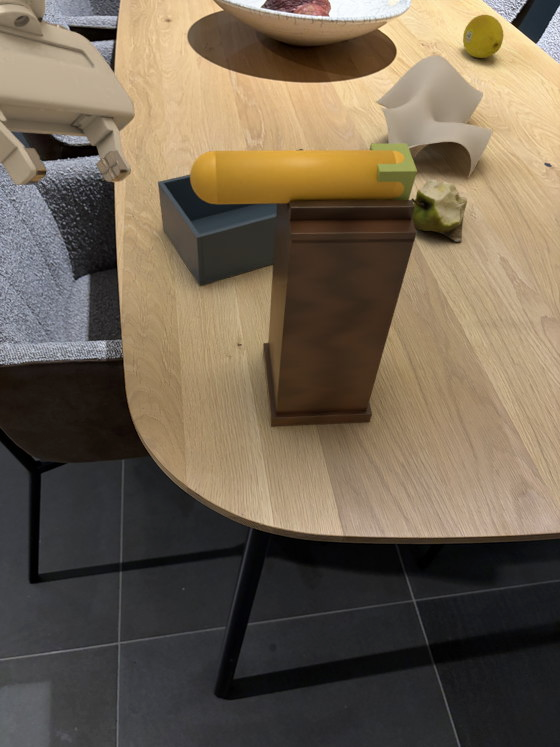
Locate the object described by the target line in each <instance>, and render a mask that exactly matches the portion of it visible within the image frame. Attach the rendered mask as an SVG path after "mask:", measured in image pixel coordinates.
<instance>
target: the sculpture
mask: <svg viewBox="0 0 560 747" xmlns="http://www.w3.org/2000/svg"><path fill="white" fill-rule="evenodd" d="M483 97H484V92H482V91H480V90H479V89H477V88H475V87H474V86H473V85H472V84H471V83H469V82H468V81H467V80H466V79H465V78H464V77H463V76H462V74H460V73H459V71H458V70H457V69H456V68H455V67H454V66H453V65H452V64H451V63H450V62H449V61H448V60H447V58H446V57H444V56H441V55H438V54H437V55H436V54H435V55H429V56H426V57H424V58H422V59H420V60H419V61H417V62H416V63H415V64H413V65H412V66H411V67H410V68H409V69H408V70H407V71H406V72H405V73H404V74H403V75H402V76H401V77H400V78H399V79H398V80H397V81H396V82H395V83H394V85H393V86H391V87H390V89H389V90H388V91H387V92H386V93H385V94H384V95H383V96H381V97H380V98H379V99H378V100H376V101H375V103H377V104H379V105H382V106H383V107H380V109H381V111H382V113H383V116H384V119H385V123H386V128H387V138H388V141H387V144H395V143H407V145H408V148H409V150H410V153H411V156H412V158H413V160H414V158H415V157H416V156H417V155H418V154H419V153H420V152H421V151H422V150H423V149H424V148H425V147H427V146H428V145H431V144H437V143H438V144H439V143H449V142H450V143H457V144H460V145H461V146H463V147H464V148H465V149H466V150H467V152H468V154H469V157H470V171H469V174H468V176H467V179H469V178H470V177H471V175H472V173H473V172H474V170H475V168H476V166H477V165H478V162H479V161H480V159H481V157H482V156H483V153H484V152H485V150H486V148H487V146H488V144H489V143H490V141H491V138H492V135H493V129H491V128H486V127H482V126H479V125H475V124H470V123H468V122H469V120H470V119H471V117H472V116H473V114H474V113H475V111H476V110H477V108H478V107H479V105H480V104H481V101H482V99H483ZM384 107H385V108H384Z"/></svg>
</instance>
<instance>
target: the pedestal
mask: <svg viewBox="0 0 560 747" xmlns="http://www.w3.org/2000/svg"><path fill="white" fill-rule="evenodd" d="M414 209H415V206H414V203H413V201H412V200H411V199H409V200H305V201H289V203H277V211H276V227H275V243H274V259H273V264H272V277H271V289H270V290H271V292H270V308H269V324H268V339H267V342H263V344H262V355H263V366H264V375H265V383H266V385H265V386H266V393H267V403H268V413H269V422H270V426H271V427H283V426H284V427H287V426H308V425H327V424H328V425H330V424H351V423H370V422H371V419H372V416H373V412H372V407H371V403H370V400H371V398H372V397H371V396H372V393H373V389H374V386H375V382H376V380H377V375H378V371H379V369H380V364H381V361H382V357H383V353H384V351H385V347H386V344H387V340H388V336H389V333H390V329H391V325H392V322H393V318H394V315H395V311H396V308H397V305H398V300H399V297H400V293H401V290H402V286H403V284H404V279H405V276H406V272H407V269H408V265H409V263H410V262H409V261H410V259H411V258H410V257H411V254H412V250H413V247H414V243H415V241H416V236H417V233H418V232H417V230H416V229H417V228H416V227H415V226H414V224H413V221H412V216H413V212H414Z"/></svg>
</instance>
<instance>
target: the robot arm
mask: <svg viewBox="0 0 560 747" xmlns="http://www.w3.org/2000/svg"><path fill="white" fill-rule="evenodd" d="M45 14H46V0H0V164H1V165H2V167H3V168H4V170H5V172H6V173H7V174H8V176H9V178H10V179H11V181H12V182H13V184H14V185H16V186H31V185H32V186H33V185H34V186H35V185H37V184H38V183H40V180H42V179H44V178H45V177H46V176H47V167H46V165H45V163H44V162H43V161H42V160H41V156H40V155H39V153H38V152H37V150H36V149H35V147H26V146H25V145H24V144H23V143H22V142H21V141H20V140H19V139H18V138H17V137H16V136H15V135H14V134H13V133H25V134H27V133H28V134H40V135H41V134H42V135H55V136H57V135H58V136H71V137H85V138H86V139H87V141H88V142H89V143H90V145H91V146H92V147H96V149H97V153H98V157H99V160H98V161H97V162H96V163H95V166H96V168H97V170H98V171H99V172H100V174H102V178H103V179H104V181H106V182H107V183H116V182H117V183H119V182H122V181H124V180H125V179H126V178H127V177H128V176H130V175H131V172H132V167H131V165H130V163H129V162H128V160H127V158H126V157H125V155H124V153H123V148H122V140H121V133H120V132H121V131H122V130H123V129H125V128H126V126H128V125H129V124H130V123H131V122H132V121H133V120H134V118H135V116H136V112H135V111H136V110H135V104H134V102H133V100H132V98H131V97H130V95H129V93H128V92H127V91H126V88H125V87H124V86H123V84H122V83H121V80H120V79H119V78H118V76H117V75H116V73H115V72H114V70H113V69H112V68H111V66H110V65H109V63H108V61H107V60H106V59H105V57H103V55H102V53H101V52H100V51H99V50H98V49H97V47H96V46H95V45H94V44H93V43H92V42H91V41H90V40H89V39H88V38H86V37H85V36H84V35H82V34H80V33H78V32H76V31H72V30H69V29H68V28H67V27H65V26H64V25H61V24H58V23H51V22H48V21H47V20H44V17H45Z"/></svg>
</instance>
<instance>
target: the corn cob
mask: <svg viewBox="0 0 560 747" xmlns="http://www.w3.org/2000/svg"><path fill="white" fill-rule="evenodd" d="M417 174H418V170H417V167H416V164H415V162H414V159H413V158H412V156H411V153H410V150H409V148H408V145H407V143H395V144H388V143H370V146H369V149H318V150H317V149H315V150H314V149H313V150H312V149H309V150H308V149H307V150H306V149H305V150H304V149H303V150H299V149H294V150H293V149H291V150H287V149H285V150H282V149H281V150H210V151H206V152H204V153H202V154H200V155H199V156H198V157H197V158H195V161H194V162H193V164H192V166H191V167H190V172H189V175H190V181H191V185H192V188H193V190H194V192H195V193H196V194H197V196H198V197H199V198H201V199H202V200H203V201H205V202H207V203H211V204H275V203H289V201H305V200H410V197H411V193H412V190H413V187H414V184H415V181H416V177H417Z"/></svg>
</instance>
